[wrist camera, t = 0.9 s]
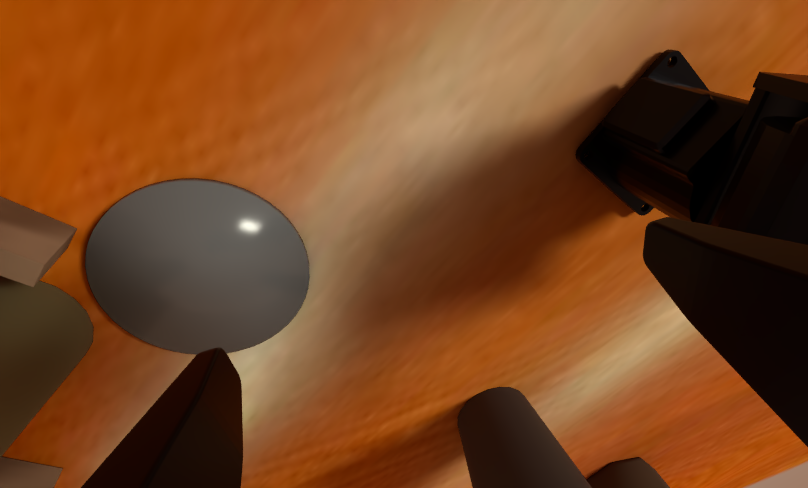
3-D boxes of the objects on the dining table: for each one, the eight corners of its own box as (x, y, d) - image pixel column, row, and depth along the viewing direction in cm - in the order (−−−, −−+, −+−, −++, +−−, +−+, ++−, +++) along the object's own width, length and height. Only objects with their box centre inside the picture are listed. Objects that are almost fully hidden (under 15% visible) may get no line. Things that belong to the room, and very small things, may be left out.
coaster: (346, 243, 23) (347, 247, 22) (249, 372, 25) (249, 377, 25) (145, 134, 18) (142, 137, 18) (54, 306, 21) (50, 311, 21)
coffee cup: (420, 444, 32) (465, 606, 24) (470, 364, 29) (542, 517, 21) (509, 453, 35) (577, 599, 27) (563, 381, 32) (659, 520, 24)
